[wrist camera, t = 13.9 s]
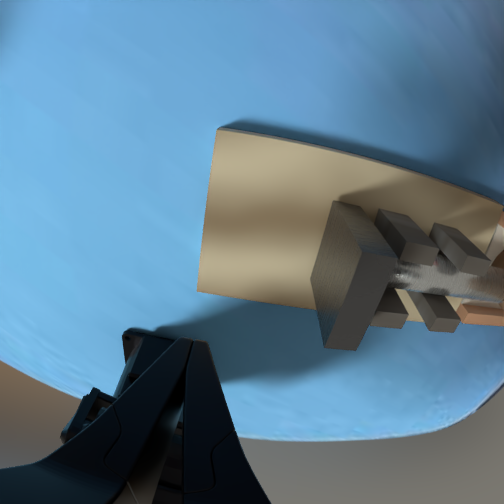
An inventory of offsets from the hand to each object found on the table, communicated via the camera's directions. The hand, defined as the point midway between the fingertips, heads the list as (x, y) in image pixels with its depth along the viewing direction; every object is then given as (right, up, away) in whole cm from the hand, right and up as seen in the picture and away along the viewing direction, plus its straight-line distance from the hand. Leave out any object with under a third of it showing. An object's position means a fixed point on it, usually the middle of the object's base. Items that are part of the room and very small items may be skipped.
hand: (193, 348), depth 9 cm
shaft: (+12, +2, +9) cm, 15 cm away
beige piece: (+9, +4, +10) cm, 14 cm away
